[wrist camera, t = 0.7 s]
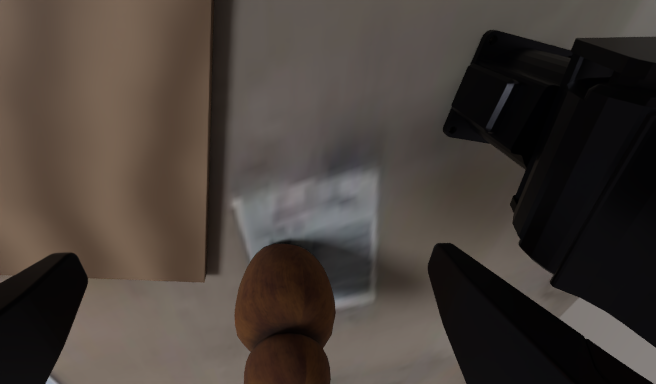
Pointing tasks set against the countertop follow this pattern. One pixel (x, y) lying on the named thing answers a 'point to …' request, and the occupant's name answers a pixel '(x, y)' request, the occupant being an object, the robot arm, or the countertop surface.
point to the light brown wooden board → (106, 135)
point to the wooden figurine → (285, 317)
